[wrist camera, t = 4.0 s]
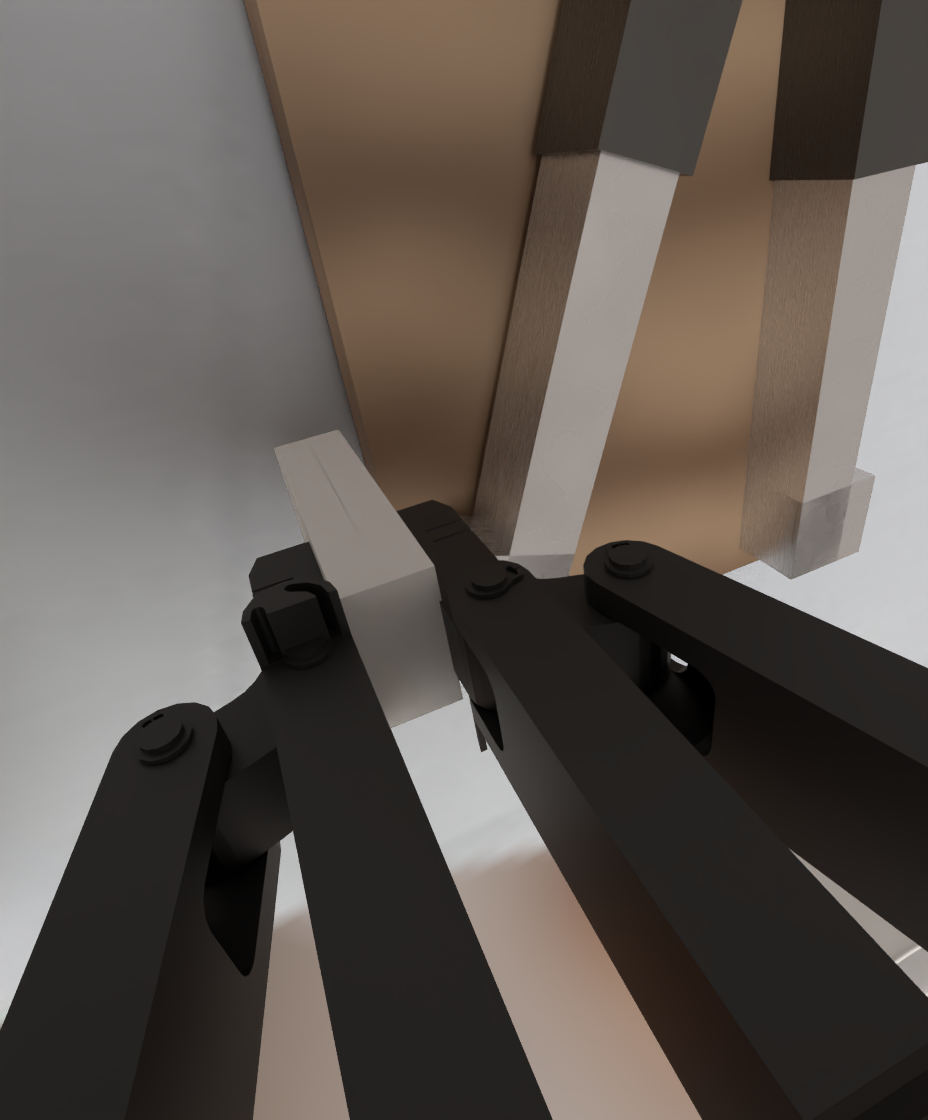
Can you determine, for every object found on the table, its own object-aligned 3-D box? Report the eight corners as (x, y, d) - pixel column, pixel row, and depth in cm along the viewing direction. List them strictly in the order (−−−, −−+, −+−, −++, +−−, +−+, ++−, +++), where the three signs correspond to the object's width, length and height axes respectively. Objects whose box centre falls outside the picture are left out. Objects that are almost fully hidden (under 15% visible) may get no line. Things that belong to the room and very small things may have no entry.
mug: (687, 800, 35) (888, 1038, 25) (591, 805, 31) (780, 1080, 22) (784, 646, 31) (1062, 852, 21) (688, 632, 28) (964, 869, 18)
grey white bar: (738, -903, 9) (912, -1237, 7) (1017, -834, 11) (1236, -1097, 8) (680, 569, 23) (732, 608, 21) (802, 522, 25) (863, 554, 23)
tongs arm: (717, -1125, 8) (934, -1644, 6) (975, -769, 11) (1206, -1043, 8) (425, 606, 20) (460, 662, 17) (580, 597, 22) (629, 646, 19)
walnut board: (-40, -1080, 8) (-79, -1321, 6) (961, -835, 11) (1055, -958, 10) (417, 664, 23) (431, 691, 22) (778, 524, 27) (807, 540, 25)
